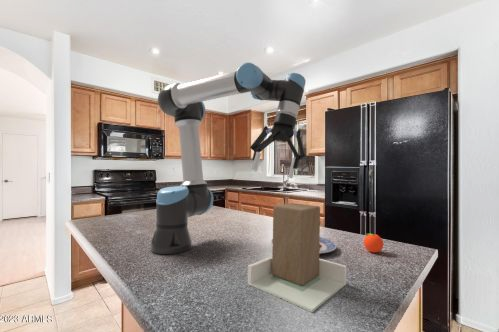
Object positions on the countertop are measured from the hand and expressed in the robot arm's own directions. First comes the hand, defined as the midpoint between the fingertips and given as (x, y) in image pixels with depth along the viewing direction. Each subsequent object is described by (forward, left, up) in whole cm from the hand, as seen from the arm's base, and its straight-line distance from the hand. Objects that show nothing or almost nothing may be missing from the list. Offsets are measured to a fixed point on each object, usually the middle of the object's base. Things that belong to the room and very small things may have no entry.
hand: (271, 173), depth 87 cm
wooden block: (+10, -12, -29) cm, 33 cm away
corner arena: (+11, -16, -30) cm, 36 cm away
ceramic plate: (+9, +19, -30) cm, 37 cm away
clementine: (+35, +23, -30) cm, 52 cm away
